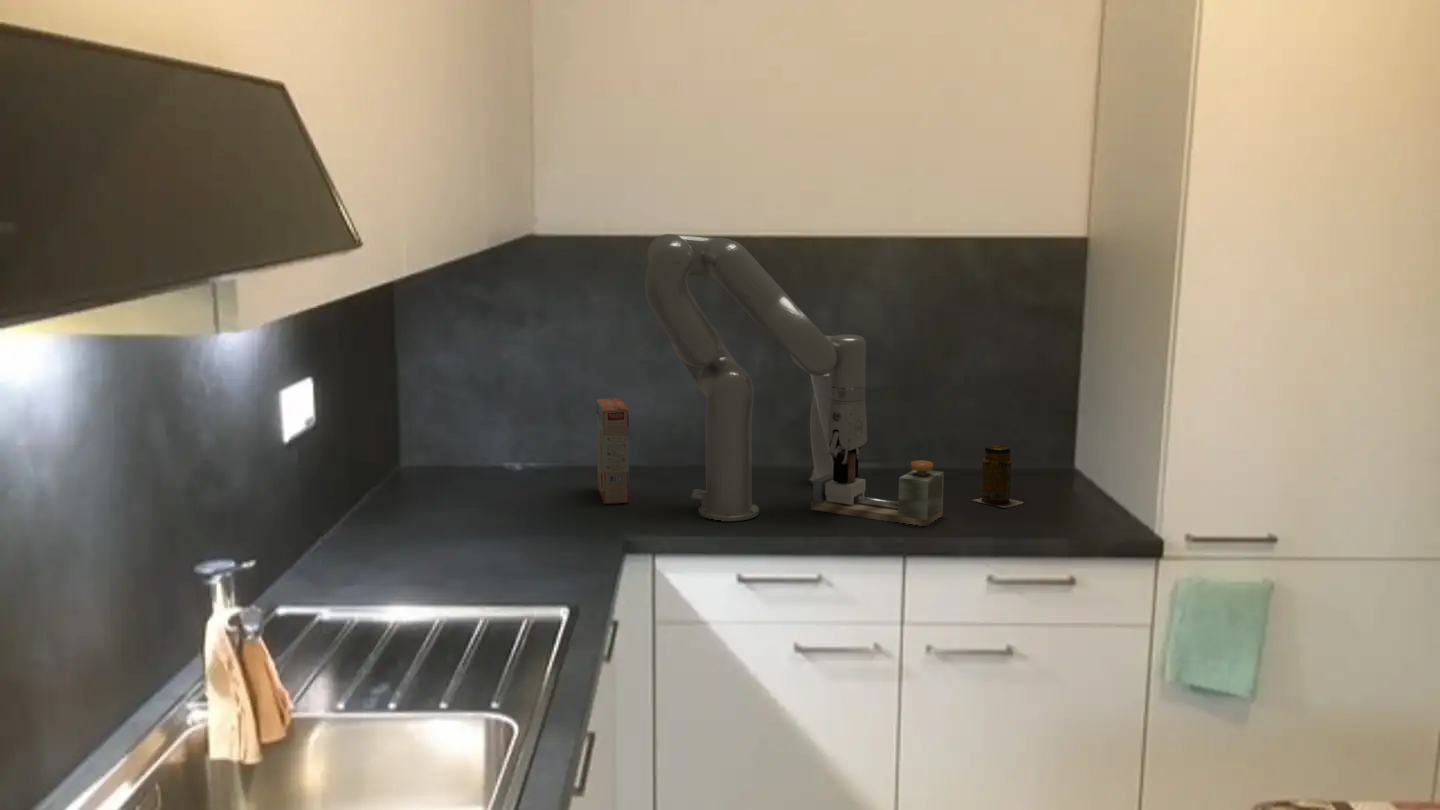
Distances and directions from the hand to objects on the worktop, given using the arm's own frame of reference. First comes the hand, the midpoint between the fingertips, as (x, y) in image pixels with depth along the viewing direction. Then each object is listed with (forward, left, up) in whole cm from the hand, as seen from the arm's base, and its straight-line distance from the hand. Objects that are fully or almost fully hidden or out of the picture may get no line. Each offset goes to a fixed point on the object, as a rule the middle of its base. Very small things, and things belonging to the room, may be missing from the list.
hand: (845, 478), depth 269 cm
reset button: (+17, 0, +2) cm, 17 cm away
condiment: (+26, +21, -7) cm, 35 cm away
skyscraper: (-13, +16, -7) cm, 22 cm away
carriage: (0, 0, -5) cm, 5 cm away
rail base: (+7, 0, -6) cm, 10 cm away
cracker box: (-48, -18, -7) cm, 51 cm away
